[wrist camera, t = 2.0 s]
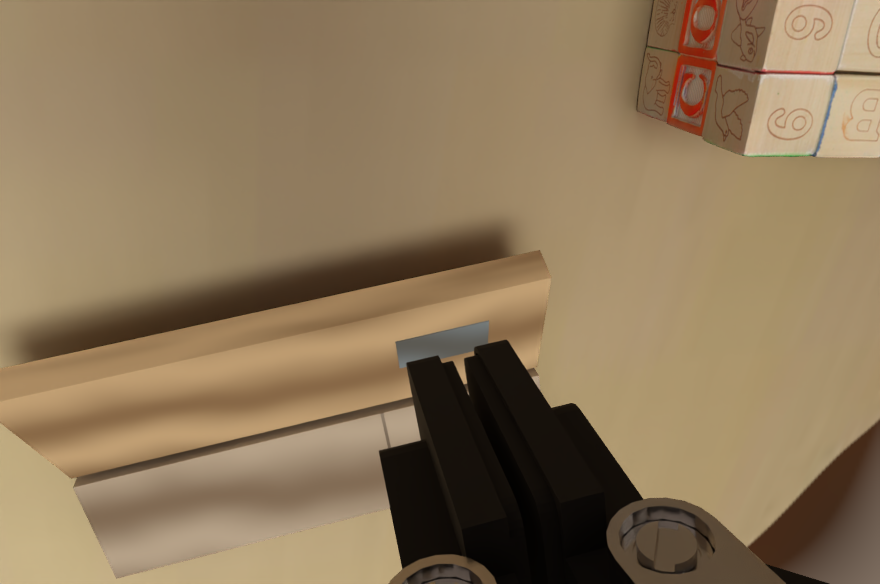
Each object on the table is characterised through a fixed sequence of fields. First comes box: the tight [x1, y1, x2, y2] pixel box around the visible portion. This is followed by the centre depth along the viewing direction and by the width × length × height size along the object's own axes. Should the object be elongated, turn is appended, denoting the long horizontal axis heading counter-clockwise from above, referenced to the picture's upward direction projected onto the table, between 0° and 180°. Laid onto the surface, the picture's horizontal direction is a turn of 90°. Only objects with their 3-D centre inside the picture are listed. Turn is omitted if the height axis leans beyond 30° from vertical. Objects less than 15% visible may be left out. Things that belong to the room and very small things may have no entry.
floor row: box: [73, 368, 540, 579], centre depth 38 cm, size 7×24×2 cm, turn 99°
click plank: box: [0, 250, 551, 478], centre depth 33 cm, size 8×24×2 cm
